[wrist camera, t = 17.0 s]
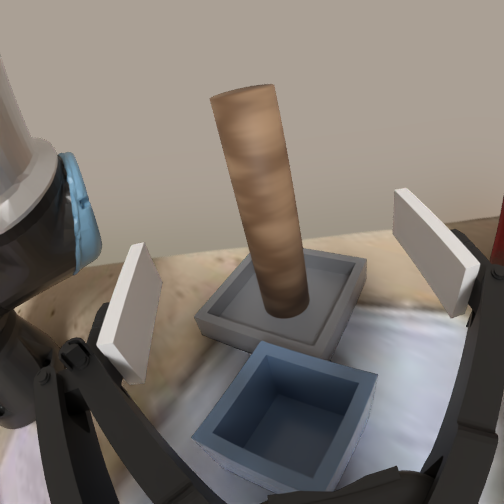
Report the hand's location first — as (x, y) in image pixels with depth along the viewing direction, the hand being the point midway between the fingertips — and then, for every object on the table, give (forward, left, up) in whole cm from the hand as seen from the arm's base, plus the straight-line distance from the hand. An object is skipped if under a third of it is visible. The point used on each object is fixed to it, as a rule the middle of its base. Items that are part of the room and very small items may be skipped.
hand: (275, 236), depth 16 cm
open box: (+1, -4, -17) cm, 18 cm away
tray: (-7, +10, -17) cm, 21 cm away
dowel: (-7, +10, -16) cm, 20 cm away
